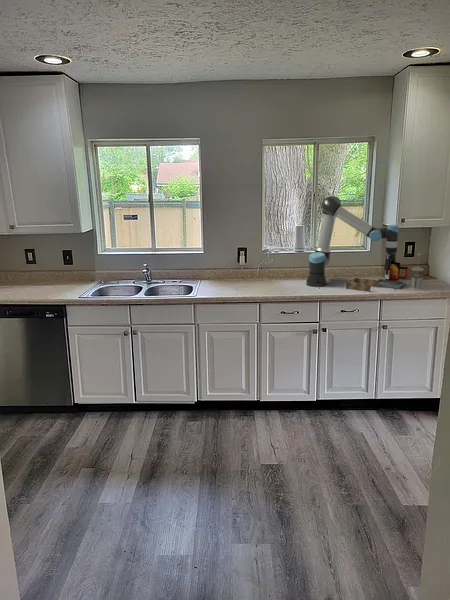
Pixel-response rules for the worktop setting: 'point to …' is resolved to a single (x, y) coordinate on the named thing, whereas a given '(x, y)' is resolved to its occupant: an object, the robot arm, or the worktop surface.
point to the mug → (396, 272)
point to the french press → (416, 278)
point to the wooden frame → (362, 284)
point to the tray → (391, 284)
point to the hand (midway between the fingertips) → (389, 277)
